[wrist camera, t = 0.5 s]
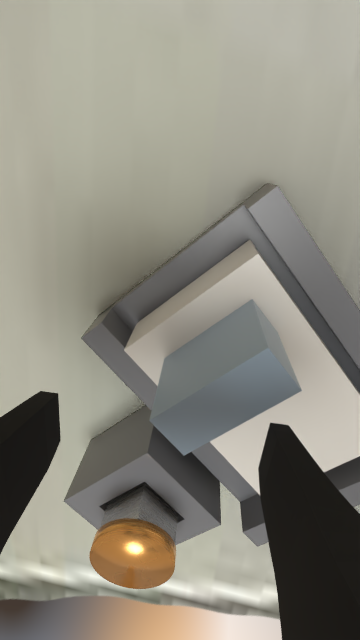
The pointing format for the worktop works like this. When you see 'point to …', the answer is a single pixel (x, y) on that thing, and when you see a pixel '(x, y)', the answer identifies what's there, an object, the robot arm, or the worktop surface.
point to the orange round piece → (136, 540)
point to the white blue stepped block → (244, 369)
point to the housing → (136, 430)
